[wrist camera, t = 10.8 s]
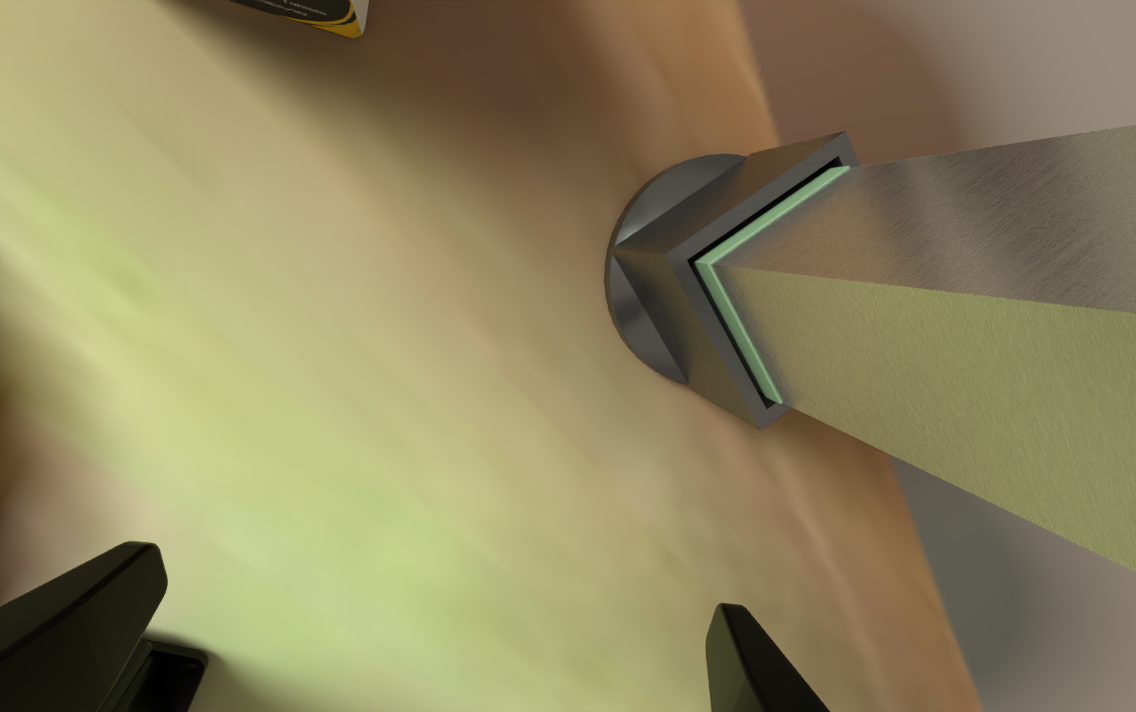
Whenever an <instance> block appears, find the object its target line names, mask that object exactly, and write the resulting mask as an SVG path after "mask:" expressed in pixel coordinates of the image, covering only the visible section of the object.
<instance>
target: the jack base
mask: <svg viewBox="0 0 1136 712" xmlns="http://www.w3.org/2000/svg"><path fill="white" fill-rule="evenodd" d="M843 166H849V167H850V168H852V167H858V166H859V163H858V161H857V158H856V156H855V153H854V151H853V148H852V146H851V143H850V141H849V138H848V136H847V133H846V131H843V132H840V133H835V134H831V135H827V136H822V137H818V138H814V139H810V140H806V141H802V142H797V143H793V144H789V145H785V146H780V147H776V148H772V149H768V150H764V151H759V152H755V153H752V154H750V155H749V156H747V157H745V156H741V155H733V154H716V155H707V156H703V157H699V158H695V159H691V160H687V161H684V162H681V163H679V164H676V165H674V166H671V167H670V168H668V169H666V170H664V171H663V172H661V173H659V174H658V175H656V176H655V177H654V178H652V179H651V180H650V181H649V182H647V183H646V184H645V185H644V186H643V187H642V188H641V189H640V190H639V191H638V192H637V193H636V194H635V195H634V197H633V198H632V199H631V201H630V202H629V203H628V205H627V206H626V207H625V209H624V211H623V212H622V214H621V216H620V218H619V219H618V221H617V224H616V226H615V228H614V231H613V233H612V236H611V239H610V243H609V246H608V249H607V255H606V261H605V276H604V283H605V294H606V300H607V304H608V309H609V312H610V315H611V318H612V321H613V323H614V325H615V327H616V329H617V331H618V333H619V335H620V337H621V338H622V340H623V341H624V343H625V344H626V345H627V347H628V348H629V349H630V350H631V351H632V352H633V353H634V355H635V356H636V357H637V358H638V359H640V360H641V361H642V362H644V363H645V364H646V365H647V366H649V367H650V368H652V369H654V370H655V371H657V372H659V373H661V374H662V375H664V376H666V377H667V378H670V379H672V380H675V381H677V382H680V383H684V384H688V385H689V387H690V388H691V390H693V391H695V392H696V393H698V394H700V395H701V396H703V397H705V398H707V399H708V400H710V401H712V402H713V403H715V404H717V405H718V406H720V407H722V408H723V409H725V410H727V411H728V412H730V413H732V414H734V415H735V416H737V417H739V418H740V419H742V420H744V421H745V422H747V423H749V424H750V425H752V426H754V427H756V428H757V429H759V430H762V429H764V428H765V427H767V426H768V425H769V424H771V423H772V422H773V421H775V420H776V419H778V418H779V417H780V416H782V415H783V414H784V413H786V412H787V411H789V410H790V409H791V408H792V407H790V406H788V405H786V404H784V403H782V404H779V403H777V402H775V401H773V400H771V399H769V398H766V397H765V395H764V394H763V393H761V392H759V391H757V390H756V389H755V387H754V385H753V383H752V381H751V379H750V377H749V376H748V374H747V372H746V370H745V368H744V366H743V364H742V362H741V361H740V359H739V357H738V355H737V353H736V351H735V349H734V348H733V346H732V344H731V342H730V340H729V338H728V336H727V334H726V333H725V331H724V329H723V327H722V325H721V323H720V321H719V320H718V318H717V316H716V314H715V312H714V310H713V308H712V306H711V305H710V303H709V301H708V299H707V297H706V295H705V293H704V291H703V290H702V288H701V286H700V284H699V282H698V280H697V278H696V277H695V275H694V273H693V271H692V269H691V267H690V265H689V263H688V262H687V259H689V258H690V257H692V256H693V255H695V254H696V253H698V252H699V251H701V250H702V249H703V248H705V247H706V246H708V245H709V244H711V243H712V242H714V241H715V240H717V239H718V238H719V237H721V236H722V235H724V234H725V233H727V232H728V231H730V230H731V229H733V228H734V227H735V226H737V225H738V224H740V223H741V222H743V221H744V220H746V219H747V218H749V217H750V216H751V215H753V214H754V213H756V212H757V211H759V210H760V209H762V208H763V207H765V206H766V205H767V204H769V203H770V202H772V201H773V200H775V199H776V198H778V197H779V196H780V195H782V194H783V193H785V192H786V191H788V190H789V189H791V188H792V187H794V186H795V185H796V184H798V183H799V182H801V181H802V180H804V179H805V178H807V177H808V176H810V175H811V174H812V173H818V172H825V171H827V170H828V169H830V168H836V167H843Z"/></svg>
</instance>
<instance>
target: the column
mask: <svg viewBox="0 0 1136 712" xmlns="http://www.w3.org/2000/svg"><path fill="white" fill-rule="evenodd" d="M687 262H688V263H689V265H690V267H691V269H692V271H693V273H694V275H695V277H696V278H697V280H698V282H699V284H700V286H701V288H702V290H703V291H704V293H705V295H706V297H707V299H708V301H709V303H710V305H711V306H712V308H713V310H714V312H715V314H716V316H717V318H718V320H719V321H720V323H721V325H722V327H723V329H724V331H725V333H726V334H727V336H728V338H729V340H730V342H731V344H732V346H733V348H734V349H735V351H736V353H737V355H738V357H739V359H740V361H741V362H742V364H743V366H744V368H745V370H746V372H747V374H748V376H749V377H750V379H751V381H752V383H753V385H754V387H755V389H756V390H757V391H759V392H761V393H763V394H764V395H765V397H766V398H769V399H771V400H773V401H775V402H777V403H779V404H782V403H784V404H786V405H788V406H790V407H792V408H794V409H797V410H799V411H801V412H803V413H805V414H807V415H809V416H811V417H813V418H815V419H817V420H820V421H822V422H824V423H826V424H828V425H830V426H832V427H834V428H836V429H838V430H840V431H843V432H845V433H847V434H849V435H851V436H853V437H855V438H857V439H859V440H861V441H863V442H866V443H868V444H870V445H872V446H874V447H876V448H878V449H880V450H882V451H884V452H886V453H889V454H891V455H893V456H895V457H897V458H899V459H901V460H903V461H905V462H908V463H910V464H912V465H914V466H916V467H918V468H920V469H922V470H924V471H926V472H928V473H930V474H932V475H935V476H937V477H939V478H941V479H943V480H945V481H947V482H949V483H951V484H954V485H955V486H958V487H960V488H962V489H964V490H966V491H968V492H970V493H972V494H974V495H976V496H978V497H981V498H983V499H985V500H987V501H989V502H991V503H993V504H995V505H997V506H999V507H1002V508H1004V509H1006V510H1008V511H1010V512H1012V513H1014V514H1016V515H1018V516H1021V517H1022V518H1024V519H1027V520H1029V521H1031V522H1033V523H1035V524H1037V525H1039V526H1041V527H1043V528H1045V529H1047V530H1050V531H1052V532H1054V533H1056V534H1058V535H1060V536H1062V537H1064V538H1067V539H1068V540H1071V541H1073V542H1075V543H1077V544H1079V545H1081V546H1083V547H1085V548H1087V549H1089V550H1091V551H1093V552H1096V553H1098V554H1100V555H1102V556H1104V557H1106V558H1108V559H1110V560H1112V561H1114V562H1116V563H1119V564H1121V565H1123V566H1125V567H1127V568H1129V569H1131V570H1133V571H1135V572H1136V125H1132V126H1125V127H1119V128H1112V129H1105V130H1099V131H1092V132H1086V133H1079V134H1072V135H1065V136H1059V137H1052V138H1045V139H1039V140H1032V141H1025V142H1019V143H1012V144H1005V145H999V146H992V147H985V148H978V149H973V150H965V151H959V152H953V153H945V154H939V155H932V156H925V157H918V158H912V159H906V160H898V161H892V162H886V163H878V164H872V165H865V166H858V167H852V168H850V167H849V166H843V167H836V168H830V169H828V170H827V171H825V172H818V173H812V174H811V175H810V176H808V177H807V178H805V179H804V180H802V181H801V182H799V183H798V184H796V185H795V186H794V187H792V188H791V189H789V190H788V191H786V192H785V193H783V194H782V195H780V196H779V197H778V198H776V199H775V200H773V201H772V202H770V203H769V204H767V205H766V206H765V207H763V208H762V209H760V210H759V211H757V212H756V213H754V214H753V215H751V216H750V217H749V218H747V219H746V220H744V221H743V222H741V223H740V224H738V225H737V226H735V227H734V228H733V229H731V230H730V231H728V232H727V233H725V234H724V235H722V236H721V237H719V238H718V239H717V240H715V241H714V242H712V243H711V244H709V245H708V246H706V247H705V248H703V249H702V250H701V251H699V252H698V253H696V254H695V255H693V256H692V257H690V258H689V259H687Z"/></svg>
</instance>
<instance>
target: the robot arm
mask: <svg viewBox="0 0 1136 712" xmlns="http://www.w3.org/2000/svg"><path fill="white" fill-rule="evenodd" d="M167 585H168V579H167V574H166V571H165V567H164V563H163V559H162V556H161V552H160V549H159V547H158V546H157V545H156V544H154V543H149V542H140V541H128V542H124V543H122V544H120V545H118V546H116V547H114V548H112V549H110V550H108V551H107V552H105V553H103V554H101V555H99V556H97V557H95V558H93V559H91V560H89V561H87V562H85V563H83V564H82V565H80V566H78V567H76V568H74V569H72V570H70V571H68V572H66V573H64V574H62V575H60V576H58V577H57V578H55V579H53V580H51V581H49V582H47V583H45V584H43V585H41V586H39V587H37V588H35V589H33V590H32V591H30V592H28V593H26V594H24V595H22V596H20V597H18V598H16V599H14V600H12V601H10V602H8V603H7V604H5V605H3V606H1V607H0V712H188V711H189V708H190V706H191V704H192V701H193V699H194V697H195V694H196V692H197V689H198V687H199V685H200V682H201V680H202V678H203V675H204V673H205V671H206V668H207V666H208V662H209V659H208V657H207V655H206V654H205V653H204V652H201V651H199V650H194V649H189V648H184V647H179V646H174V645H169V644H164V643H160V642H155V641H150V640H145V639H140V638H141V637H142V635H143V633H144V631H145V629H146V628H147V626H148V624H149V622H150V621H151V619H152V617H153V615H154V613H155V612H156V610H157V608H158V606H159V604H160V603H161V601H162V599H163V597H164V595H165V593H166V590H167ZM706 660H707V670H708V680H709V690H710V700H711V710H712V712H830V711H829V710H828V708H827V707H826V706H825V705H824V703H823V702H822V701H821V700H820V699H819V697H818V696H817V695H816V694H815V692H814V691H813V690H812V689H811V687H810V686H809V685H808V684H807V682H806V681H805V680H804V679H803V678H802V676H801V675H800V674H799V673H798V671H797V670H796V669H795V668H794V666H793V665H792V664H791V663H790V661H789V660H788V659H787V658H786V657H785V655H784V654H783V653H782V652H781V650H780V649H779V648H778V647H777V645H776V644H775V643H774V642H773V640H772V639H771V638H770V637H769V636H768V634H767V633H766V632H765V631H764V629H763V628H762V627H761V626H760V624H759V623H758V622H757V621H756V619H755V618H754V617H753V616H752V615H751V613H750V612H749V611H748V610H747V609H746V608H745V607H744V606H742V605H737V604H728V603H720V604H718V605H717V607H716V609H715V612H714V615H713V618H712V621H711V624H710V627H709V630H708V633H707V637H706ZM186 664H193V665H195V666H196V668H190V667H188V666H187V665H186Z"/></svg>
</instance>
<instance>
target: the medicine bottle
mask: <svg viewBox="0 0 1136 712" xmlns="http://www.w3.org/2000/svg"><path fill="white" fill-rule="evenodd" d="M230 1H233V2H237V3H240V4H243V5H246V6H249V7H253V8H256V9H259V10H262V11H266V12H269V13H272V14H275V15H279V16H282V17H285V18H288V19H292V20H295V21H298V22H301V23H304V24H308V25H311V26H314V27H317V28H321V29H324V30H327V31H330V32H334V33H337V34H340V35H343V36H346V37H350V38H358V37H360V36H361V35H362V34H363V32H364V30H365V24H366V17H367V11H368V4H369V0H230Z"/></svg>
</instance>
